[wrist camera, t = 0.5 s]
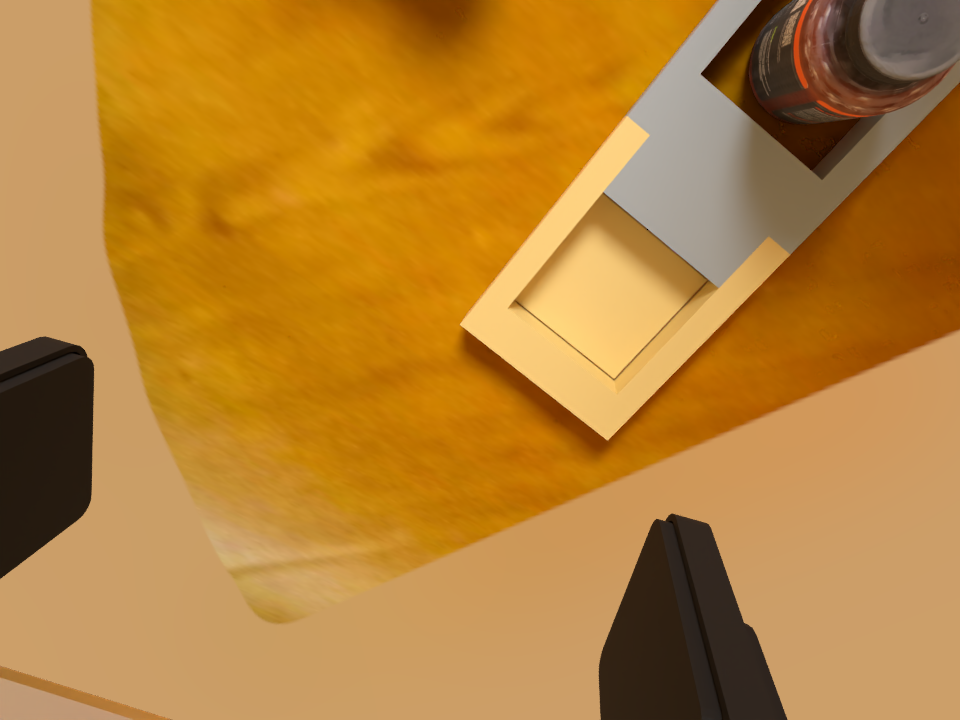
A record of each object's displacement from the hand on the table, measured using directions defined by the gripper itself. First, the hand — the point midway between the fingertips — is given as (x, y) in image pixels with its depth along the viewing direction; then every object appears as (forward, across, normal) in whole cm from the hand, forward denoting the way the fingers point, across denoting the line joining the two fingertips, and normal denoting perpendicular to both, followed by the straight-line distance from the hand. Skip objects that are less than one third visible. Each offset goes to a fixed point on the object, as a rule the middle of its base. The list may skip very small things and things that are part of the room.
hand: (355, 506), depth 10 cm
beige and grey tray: (+29, -9, -6) cm, 31 cm away
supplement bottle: (+29, -12, -12) cm, 34 cm away
